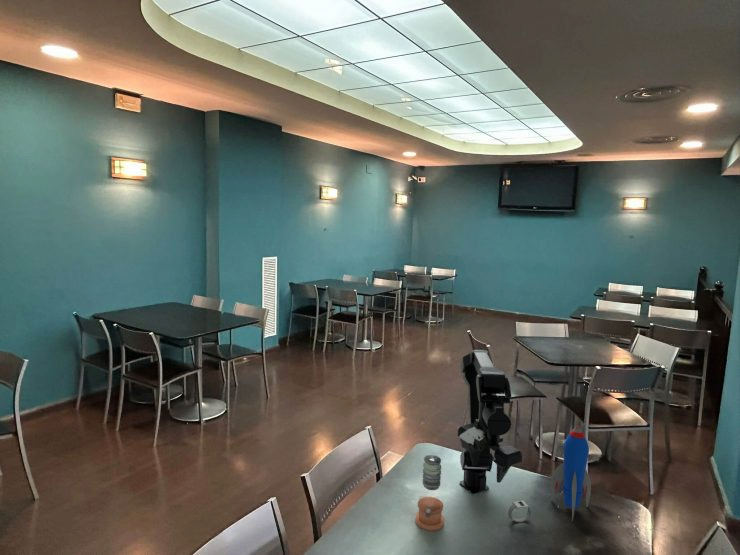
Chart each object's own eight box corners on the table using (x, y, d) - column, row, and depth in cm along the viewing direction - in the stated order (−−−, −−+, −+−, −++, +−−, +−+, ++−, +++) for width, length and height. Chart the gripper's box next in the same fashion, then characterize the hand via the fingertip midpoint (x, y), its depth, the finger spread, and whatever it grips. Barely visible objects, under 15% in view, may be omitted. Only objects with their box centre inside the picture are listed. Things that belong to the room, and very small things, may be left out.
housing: (426, 509, 126) (427, 491, 126) (449, 521, 121) (450, 503, 121) (409, 521, 121) (410, 503, 120) (433, 535, 116) (434, 516, 115)
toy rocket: (589, 506, 130) (596, 422, 127) (596, 527, 121) (604, 438, 118) (548, 499, 133) (555, 417, 130) (552, 519, 123) (559, 432, 121)
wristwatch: (511, 525, 121) (512, 508, 120) (506, 518, 123) (507, 501, 123) (532, 523, 122) (533, 505, 121) (526, 516, 124) (528, 499, 124)
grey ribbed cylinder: (429, 478, 123) (430, 452, 122) (443, 485, 120) (445, 459, 119) (418, 485, 120) (419, 459, 119) (433, 493, 117) (434, 465, 116)
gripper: (443, 410, 124) (441, 464, 126) (492, 439, 108) (488, 500, 110) (474, 403, 129) (471, 455, 131) (525, 429, 113) (521, 488, 115)
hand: (486, 473), depth 121 cm, fingers open, 9 cm apart
